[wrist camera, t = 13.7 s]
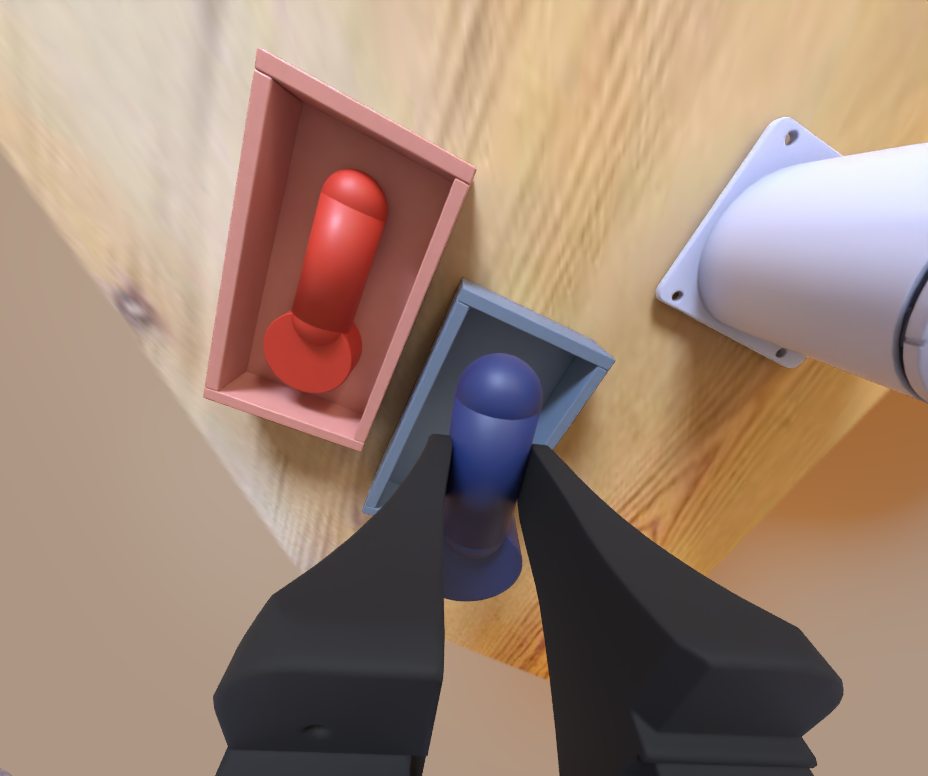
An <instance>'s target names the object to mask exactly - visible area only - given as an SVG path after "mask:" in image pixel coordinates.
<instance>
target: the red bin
mask: <svg viewBox="0 0 928 776" xmlns="http://www.w3.org/2000/svg"><path fill="white" fill-rule="evenodd" d="M255 68H256V69H257V70H254V74H253V80H252V87H251V93H250V99H249V106H248V112H247V119H246V125H245V132H244V138H243V145H242V151H241V157H240V164H239V170H238V177H237V183H236V190H235V196H234V203H233V209H232V215H231V222H230V228H229V235H228V241H227V248H226V254H225V260H224V267H223V273H222V280H221V286H220V293H219V299H218V306H217V312H216V318H215V325H214V331H213V338H212V344H211V351H210V357H209V364H208V370H207V376H206V383H205V389H204V395H203V397H204V398H207V399H209V400H212V401H215V402H218V403H221V404H224V405H227V406H230V407H233V408H235V409H238V410H241V411H244V412H247V413H250V414H253V415H256V416H258V417H261V418H264V419H267V420H270V421H273V422H276V423H279V424H281V425H284V426H287V427H290V428H293V429H296V430H299V431H302V432H305V433H307V434H310V435H313V436H316V437H319V438H322V439H325V440H328V441H330V442H333V443H336V444H339V445H342V446H345V447H348V448H351V449H354V450H356V451H359V452H361V451H362V449H363V446H364V444H365V442H366V439H367V437H368V434H369V432H370V430H371V427H372V425H373V422H374V420H375V417H376V415H377V413H378V410H379V408H380V405H381V403H382V400H383V398H384V395H385V393H386V391H387V388H388V386H389V383H390V381H391V378H392V376H393V373H394V371H395V369H396V366H397V364H398V361H399V359H400V356H401V354H402V351H403V349H404V347H405V344H406V342H407V339H408V337H409V334H410V332H411V330H412V327H413V325H414V322H415V320H416V317H417V315H418V312H419V310H420V308H421V305H422V303H423V300H424V298H425V295H426V293H427V290H428V288H429V286H430V283H431V281H432V278H433V276H434V273H435V271H436V268H437V266H438V264H439V261H440V259H441V256H442V254H443V251H444V249H445V246H446V244H447V242H448V239H449V237H450V234H451V232H452V229H453V227H454V224H455V222H456V220H457V217H458V215H459V212H460V210H461V207H462V205H463V202H464V200H465V198H466V195H467V193H468V190H469V188H470V185H471V183H472V180H473V178H474V175H475V173H476V167H474V166H473V165H471V164H469V163H467V162H465V161H464V160H462V159H460V158H458V157H456V156H455V155H453V154H451V153H449V152H447V151H446V150H444V149H442V148H440V147H438V146H437V145H435V144H433V143H431V142H429V141H428V140H426V139H424V138H422V137H420V136H419V135H417V134H415V133H413V132H412V131H410V130H408V129H406V128H404V127H403V126H401V125H399V124H397V123H395V122H394V121H392V120H390V119H388V118H386V117H385V116H383V115H381V114H379V113H377V112H376V111H374V110H372V109H370V108H368V107H367V106H365V105H363V104H361V103H359V102H358V101H356V100H354V99H352V98H350V97H349V96H347V95H345V94H343V93H341V92H340V91H338V90H336V89H334V88H332V87H331V86H329V85H327V84H325V83H323V82H322V81H320V80H318V79H316V78H314V77H313V76H311V75H309V74H307V73H305V72H304V71H302V70H300V69H298V68H296V67H295V66H293V65H291V64H289V63H287V62H286V61H284V60H282V59H280V58H278V57H277V56H275V55H273V54H271V53H270V52H268V51H266V50H264V49H262V48H261V47H258V48H257V54H256V61H255ZM349 168H352V169H358V170H360V171H363V172H365V173H367V174H368V175H370V176H371V177H372V178H374V179H375V180H376V181H377V182H378V184H379V185H380V186H381V188H382V190H383V192H384V194H385V196H386V200H387V205H388V216H387V221H386V224H385V227H384V230H383V233H382V236H381V239H380V242H379V245H378V248H377V251H376V254H375V257H374V260H373V263H372V266H371V269H370V272H369V275H368V278H367V281H366V284H365V287H364V290H363V294H362V297H361V300H360V303H359V306H358V309H357V312H356V315H355V318H354V321H353V322H354V324H355V325H356V327H357V329H358V331H359V333H360V336H361V340H362V353H361V356H360V359H359V361H358V363H357V364H356V366H355V367H354V369H353V370H352V372H351V373H350V374H349V376H348V377H347V379H346V380H345V381H344V382H343V383H342V384H341V385H340V386H339V387H337V388H335V389H333V390H331V391H328V392H324V393H307V392H303V391H299V390H297V389H294V388H292V387H290V386H289V385H287V384H285V383H284V382H283V381H281V380H280V379H279V378H278V377H277V376H276V375H275V374H274V372H273V371H272V370H271V368H270V367H269V365H268V363H267V361H266V358H265V355H264V349H263V341H264V336H265V333H266V331H267V329H268V327H269V325H270V324H271V323H272V322H273V321H274V320H275V319H277V318H278V317H280V316H281V315H283V314H285V313H287V312H289V311H291V310H292V306H293V302H294V298H295V294H296V290H297V286H298V282H299V278H300V274H301V270H302V266H303V262H304V258H305V254H306V250H307V246H308V242H309V238H310V234H311V230H312V226H313V222H314V218H315V214H316V210H317V206H318V202H319V198H320V193H321V190H322V187H323V185H324V183H325V181H326V180H327V178H329V177H330V176H331V175H332V174H333V173H335V172H336V171H338V170H342V169H349Z"/></svg>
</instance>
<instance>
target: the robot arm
mask: <svg viewBox="0 0 928 776" xmlns="http://www.w3.org/2000/svg"><path fill="white" fill-rule="evenodd" d="M788 133H789V135H790V140H789V142H788V144H787V145H786V144H785V138H786V135H787V134H788ZM677 291H678V296H677V298H676V299H675V300H672V296H673V294H674V293H675V292H677ZM655 295H656V298H657V299H658V300H660V301H661V302H663V303H665V304H667V305H669V306H671V307H673V308H675V309H676V310H678V311H680V312H682V313H684V314H686V315H688V316H690V317H691V318H693V319H695V320H697V321H699V322H701V323H703V324H705V325H706V326H708V327H710V328H712V329H714V330H716V331H718V332H720V333H721V334H723V335H725V336H727V337H729V338H731V339H733V340H735V341H736V342H738V343H740V344H742V345H744V346H746V347H748V348H750V349H751V350H753V351H755V352H757V353H759V354H761V355H763V356H765V357H766V358H768V359H770V360H772V361H774V362H776V363H778V364H780V365H781V366H784V367H786V368H789V369H791V368H795V367H797V366H799V365H800V364H801V363H802V362H803V361H804V360H805V359H806V358H807V357H809V358H812V359H815V360H817V361H820V362H822V363H825V364H828V365H830V366H833V367H835V368H838V369H840V370H843V371H846V372H848V373H851V374H853V375H856V376H858V377H861V378H864V379H866V380H869V381H871V382H874V383H877V384H879V385H882V386H884V387H887V388H889V389H892V390H895V391H897V392H900V393H902V394H905V395H907V396H911V397H913V398H915V399H918V400H921V401H923V402H926V403H928V142H926V143H920V144H915V145H909V146H903V147H897V148H891V149H885V150H879V151H873V152H867V153H861V154H855V155H849V156H842V155H841V154H839V153H838V152H837V151H835V150H834V149H833V148H831V147H830V146H829V145H827V144H826V143H825V142H823V141H822V140H820V139H819V138H818V137H816V136H815V135H814V134H812V133H811V132H810V131H808V130H807V129H806V128H804V127H803V126H801V125H800V124H799V123H797V122H796V121H795V120H793V119H792V118H790V117H783V118H779V119H776V120H775V121H773V122H771V123H770V124H769V125H768V127H767V128H766V129H765V131H764V132H763V134H762V135H761V136H760V138H759V139H758V141H757V142H756V144H755V145H754V147H753V148H752V150H751V151H750V152H749V154H748V155H747V157H746V158H745V160H744V161H743V163H742V164H741V166H740V167H739V168H738V170H737V171H736V173H735V174H734V176H733V177H732V179H731V180H730V182H729V183H728V184H727V186H726V187H725V189H724V190H723V192H722V193H721V195H720V196H719V198H718V199H717V200H716V202H715V203H714V205H713V206H712V208H711V209H710V211H709V212H708V214H707V215H706V216H705V218H704V219H703V221H702V222H701V224H700V225H699V227H698V228H697V230H696V231H695V232H694V234H693V235H692V237H691V238H690V240H689V241H688V243H687V244H686V246H685V247H684V248H683V250H682V251H681V253H680V254H679V256H678V257H677V259H676V260H675V262H674V263H673V264H672V266H671V267H670V269H669V270H668V272H667V273H666V275H665V276H664V278H663V279H662V280H661V282H660V283H659V285H658V286H657V288H656V291H655ZM779 349H780V351H779V352H778V353H777V351H778V350H779ZM776 353H777V354H776ZM451 454H452V438H451V437H450V435H442V434H432V435H430V436H429V438H428V441H427V444H426V446H425V448H424V450H423V452H422V454H421V456H420V457H419V459H418V460H417V462H416V464H415V465H414V467H413V468H412V470H411V471H410V473H409V474H408V476H407V477H406V478H405V480H404V481H403V482H402V483H401V485H400V486H399V487H398V489H397V490H396V491H395V493H394V494H393V495H392V496H391V497H390V498H389V500H388V501H387V502H386V503H385V504H384V505H383V506H382V507H381V508H380V509H379V510H378V512H377V513H376V514H375V515H374V516H373V517H372V518H371V519H370V520H368V521H367V522H366V523H365V524H364V525H363V526H362V527H361V528H360V529H359V530H358V531H357V532H356V533H355V534H354V535H352V536H351V537H350V538H349V539H348V540H347V541H345V542H344V543H343V544H342V545H340V546H339V547H338V548H337V549H335V550H334V551H333V552H332V553H330V554H329V555H328V556H327V557H326V558H324V559H323V560H322V561H320V562H319V563H318V564H316V565H315V566H314V567H312V568H311V569H310V570H308V571H307V572H305V573H304V574H302V575H301V576H299V577H298V578H297V579H295V580H294V581H292V582H291V583H289V584H288V585H286V586H285V587H283V588H282V589H280V590H279V591H278V592H276V593H275V594H273V595H272V596H271V597H270V599H269V600H268V601H267V603H266V604H265V605H264V607H263V608H262V610H261V611H260V613H259V614H258V615H257V617H256V619H255V620H254V622H253V623H252V625H251V626H250V628H249V629H248V631H247V632H246V634H245V635H244V637H243V639H242V641H241V642H240V644H239V646H238V647H237V649H236V651H235V653H234V656H233V658H232V660H231V662H230V664H229V666H228V668H227V670H226V672H225V674H224V676H223V678H222V680H221V682H220V684H219V686H218V688H217V690H216V692H215V694H214V696H213V701H214V709H215V712H216V715H217V718H218V721H219V723H220V726H221V729H222V732H223V734H224V737H225V740H226V742H227V745H228V748H227V750H226V752H225V755H224V757H223V759H222V761H221V764H220V766H219V768H218V770H217V773H216V775H215V776H422V773H423V767H424V763H425V758H426V756H427V755H428V750H429V746H430V740H431V736H432V731H433V725H434V721H435V716H436V710H437V705H438V701H439V696H440V691H441V686H442V681H443V671H444V640H445V629H444V593H443V514H444V502H445V495H446V489H447V482H448V475H449V468H450V461H451ZM517 502H518V511H519V519H520V524H521V528H522V533H523V537H524V541H525V545H526V549H527V553H528V557H529V561H530V565H531V569H532V573H533V577H534V581H535V585H536V590H537V595H538V600H539V605H540V611H541V618H542V625H543V632H544V638H545V646H546V654H547V661H548V669H549V677H550V685H551V694H552V703H553V711H554V720H555V729H556V741H557V752H558V762H559V774H560V776H814V775H813V773H812V772H811V771H810V769H809V768H814V767H815V766H817V762H816V758H815V756H814V755H813V753H812V752H811V750H810V749H809V747H808V746H807V744H806V743H805V741H804V740H803V738H802V736H803V735H804V734H805V733H807V732H808V731H809V730H810V729H811V728H813V727H814V726H815V725H816V724H818V723H819V722H820V721H821V720H823V719H824V718H825V717H826V716H828V715H829V714H830V713H831V712H832V711H833V710H834V709H835V708H836V707H837V706H838V705H839V703H840V701H841V699H842V696H843V683H842V679H841V678H840V677H839V676H838V675H837V673H836V672H835V671H834V670H833V669H832V667H831V666H830V665H829V664H828V663H827V661H826V660H825V659H824V658H823V657H822V655H821V654H820V653H819V652H818V651H817V649H816V648H815V647H814V646H813V645H812V643H811V642H810V641H809V640H808V639H807V637H806V636H805V635H804V634H803V633H802V631H801V630H800V629H799V628H798V627H796V626H794V625H792V624H790V623H788V622H786V621H784V620H782V619H781V618H779V617H777V616H775V615H773V614H771V613H769V612H767V611H765V610H764V609H761V608H760V607H758V606H756V605H754V604H752V603H750V602H748V601H747V600H745V599H743V598H741V597H739V596H737V595H736V594H734V593H732V592H730V591H729V590H727V589H726V588H724V587H722V586H720V585H718V584H717V583H715V582H714V581H712V580H710V579H709V578H707V577H705V576H704V575H702V574H701V573H699V572H697V571H696V570H694V569H693V568H691V567H689V566H688V565H686V564H685V563H683V562H682V561H680V560H679V559H677V558H676V557H675V556H673V555H672V554H670V553H669V552H667V551H666V550H664V549H663V548H661V547H660V546H658V545H657V544H656V543H654V542H653V541H652V540H650V539H649V538H647V537H646V536H645V535H644V534H642V533H641V532H640V531H638V530H637V529H636V528H635V527H633V526H632V525H631V524H630V523H628V522H627V521H626V520H625V519H623V518H622V517H621V516H620V515H619V514H617V513H616V512H615V511H614V510H613V509H612V508H611V507H609V506H608V505H607V504H606V503H605V502H604V501H603V500H602V499H601V498H599V497H598V496H597V495H596V494H595V493H594V492H593V491H592V490H591V489H590V488H589V487H588V486H587V485H586V484H585V483H584V482H583V481H582V480H581V479H580V478H579V477H578V476H577V475H576V474H575V473H574V472H573V471H572V470H571V469H570V468H569V467H568V466H567V465H566V464H565V463H564V462H563V461H562V459H561V458H560V457H559V456H558V455H557V454H556V453H555V452H554V451H553V450H552V449H551V448H550V447H549V446H548V445H540V444H532V446H531V450H530V453H529V457H528V461H527V465H526V468H525V472H524V476H523V480H522V483H521V487H520V491H519V495H518V498H517ZM0 776H11V775H10V774H9V773H8V772H6V771H5V770H3V769H1V768H0Z"/></svg>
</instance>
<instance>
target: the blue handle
mask: <svg viewBox="0 0 928 776" xmlns="http://www.w3.org/2000/svg"><path fill="white" fill-rule="evenodd" d="M542 401H543V391H542V387H541V384H540V380H539V378H538V376H537V375H536V373H535V371H534V370H533V369H532V368H531V367H530V366H529V365H528V364H527V363H526V362H524V361H523V360H521V359H520V358H518V357H516V356H513V355H509V354H504V353H494V354H489V355H485V356H482V357H480V358H478V359H476V360H474V361H473V362H472V363H471V364H469V365H468V366H467V368H466V369H465V370H464V371H463V373H462V374H461V376H460V378H459V380H458V382H457V386H456V390H455V397H454V404H453V411H452V418H451V426H450V433H449V435H450V437H451V438H452V454H451V461H450V468H449V475H448V482H447V489H446V495H445V502H444V514H443V593H444V598H446V599H450V600H455V601H478V600H483V599H488V598H491V597H494V596H496V595H498V594H500V593H502V592H504V591H505V590H507V589H508V588H509V587H511V586H512V585H513V584H514V583H515V581H516V580H517V579H518V577H519V575H520V573H521V569H522V556H521V550H520V545H519V540H518V534H517V529H516V524H515V518H514V514H513V513H514V510H515V506H516V502H517V498H518V495H519V491H520V487H521V483H522V480H523V476H524V472H525V468H526V465H527V461H528V457H529V453H530V450H531V446H532V442H533V438H534V435H535V431H536V427H537V423H538V420H539V416H540V412H541V408H542Z"/></svg>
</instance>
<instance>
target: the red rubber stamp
mask: <svg viewBox="0 0 928 776" xmlns="http://www.w3.org/2000/svg"><path fill="white" fill-rule="evenodd" d="M387 216H388V205H387V200H386V196H385V194H384V192H383V190H382V188H381V186H380V185H379V184H378V182H377V181H376V180H375V179H374V178H372V177H371V176H370V175H368V174H367V173H365V172H363V171H360V170H358V169H352V168H349V169H342V170H338V171H336V172H335V173H333V174H332V175H331V176H330V177H329V178H327V180H326V181H325V183H324V185H323V187H322V190H321V193H320V198H319V202H318V206H317V210H316V214H315V218H314V222H313V226H312V230H311V234H310V238H309V242H308V246H307V250H306V254H305V258H304V262H303V266H302V270H301V274H300V278H299V282H298V286H297V290H296V294H295V298H294V302H293V306H292V310H291V311H289V312H287V313H285V314H283V315H281V316H280V317H278V318H277V319H275V320H274V321H273V322H272V323H271V324H270V325H269V327H268V329H267V331H266V333H265V336H264V341H263V349H264V355H265V358H266V361H267V363H268V365H269V367H270V368H271V370H272V371H273V372H274V374H275V375H276V376H277V377H278V378H279V379H280V380H281V381H283V382H284V383H285V384H287V385H289V386H290V387H292V388H294V389H297V390H299V391H303V392H307V393H324V392H328V391H331V390H333V389H335V388H337V387H339V386H340V385H341V384H342V383H343V382H344V381H345V380H346V379H347V377H348V376H349V374H350V373H351V372H352V370H353V369H354V367H355V366H356V364H357V363H358V361H359V359H360V356H361V353H362V340H361V336H360V333H359V331H358V329H357V327H356V325H355V324H354V322H353V321H354V318H355V315H356V312H357V309H358V306H359V303H360V300H361V297H362V294H363V290H364V287H365V284H366V281H367V278H368V275H369V272H370V269H371V266H372V263H373V260H374V257H375V254H376V251H377V248H378V245H379V242H380V239H381V236H382V233H383V230H384V227H385V224H386V221H387Z"/></svg>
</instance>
